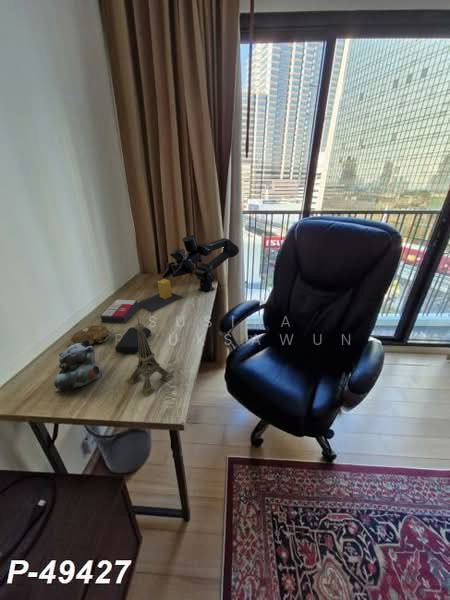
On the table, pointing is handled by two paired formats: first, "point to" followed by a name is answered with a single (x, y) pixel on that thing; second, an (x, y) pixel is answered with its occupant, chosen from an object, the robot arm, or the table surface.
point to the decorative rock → (91, 334)
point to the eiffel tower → (146, 363)
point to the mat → (157, 302)
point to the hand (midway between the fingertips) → (167, 276)
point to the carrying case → (131, 340)
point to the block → (164, 288)
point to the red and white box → (119, 311)
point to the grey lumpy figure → (76, 367)
